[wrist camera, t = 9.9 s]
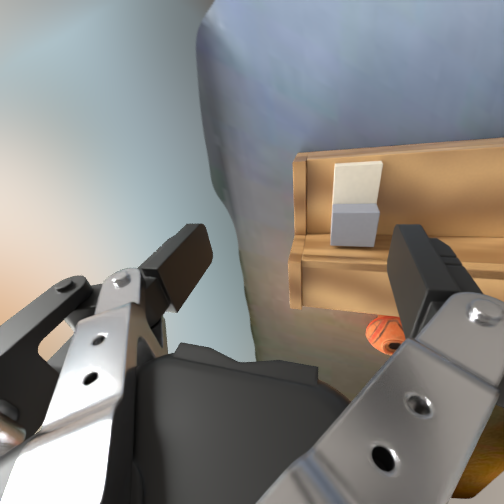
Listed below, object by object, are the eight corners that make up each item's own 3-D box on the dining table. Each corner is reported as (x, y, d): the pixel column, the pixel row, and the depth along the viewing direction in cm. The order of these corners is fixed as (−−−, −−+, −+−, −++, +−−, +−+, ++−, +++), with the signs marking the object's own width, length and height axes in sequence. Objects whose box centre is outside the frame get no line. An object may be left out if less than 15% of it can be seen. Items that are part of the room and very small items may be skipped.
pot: (403, 343, 41) (402, 377, 36) (360, 318, 43) (354, 347, 38) (437, 317, 36) (442, 352, 31) (387, 290, 38) (383, 319, 33)
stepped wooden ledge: (297, 152, 29) (283, 178, 21) (550, 133, 22) (683, 160, 14) (299, 259, 38) (290, 308, 29) (482, 269, 31) (538, 337, 22)
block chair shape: (334, 163, 25) (335, 172, 22) (381, 160, 24) (387, 170, 21) (330, 230, 29) (330, 245, 26) (369, 231, 28) (374, 247, 25)
